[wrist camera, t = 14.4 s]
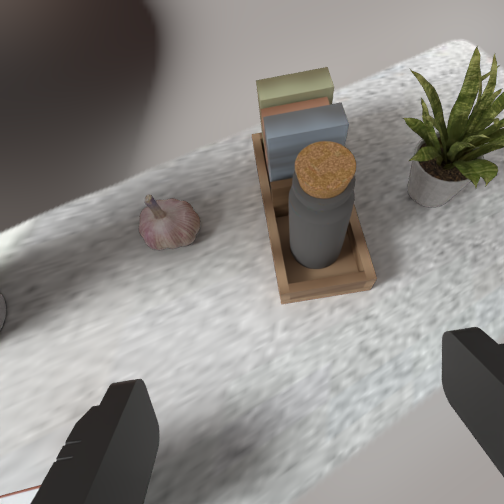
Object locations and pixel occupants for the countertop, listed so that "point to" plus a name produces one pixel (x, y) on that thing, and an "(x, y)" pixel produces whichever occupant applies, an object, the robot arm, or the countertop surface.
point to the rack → (281, 173)
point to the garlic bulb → (168, 223)
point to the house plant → (456, 138)
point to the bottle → (320, 203)
